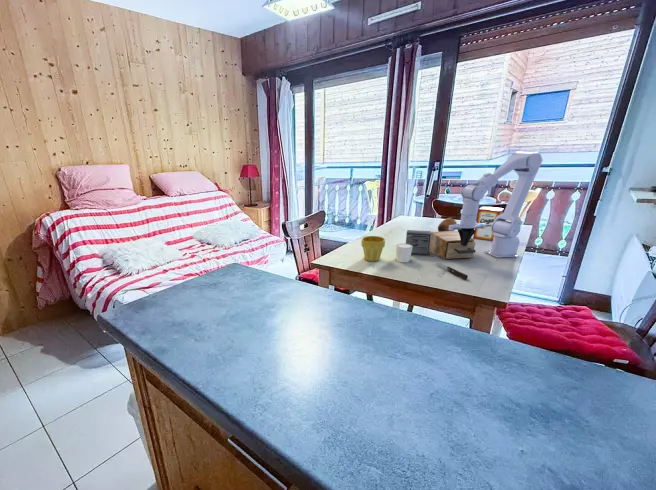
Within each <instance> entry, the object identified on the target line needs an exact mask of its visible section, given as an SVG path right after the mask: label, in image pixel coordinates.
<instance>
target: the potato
mask: <svg viewBox="0 0 656 490" xmlns="http://www.w3.org/2000/svg"><path fill="white" fill-rule="evenodd" d="M454 224H458V222H457V220H456V219H455V218H452V217H446V218H445V219H443V220H441V222H440V223H439V224H438V225H437V232H443V231H451V230H449V225H454ZM452 231H455V230H452Z"/></svg>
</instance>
